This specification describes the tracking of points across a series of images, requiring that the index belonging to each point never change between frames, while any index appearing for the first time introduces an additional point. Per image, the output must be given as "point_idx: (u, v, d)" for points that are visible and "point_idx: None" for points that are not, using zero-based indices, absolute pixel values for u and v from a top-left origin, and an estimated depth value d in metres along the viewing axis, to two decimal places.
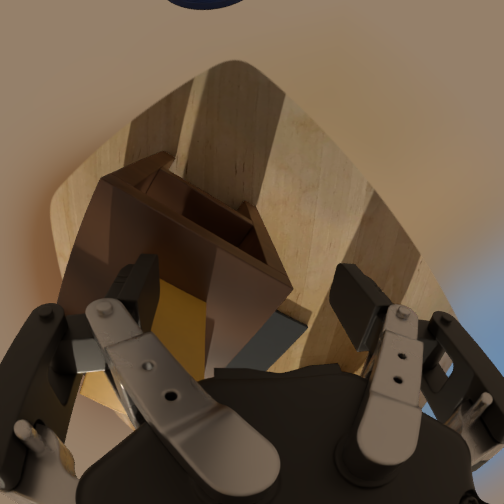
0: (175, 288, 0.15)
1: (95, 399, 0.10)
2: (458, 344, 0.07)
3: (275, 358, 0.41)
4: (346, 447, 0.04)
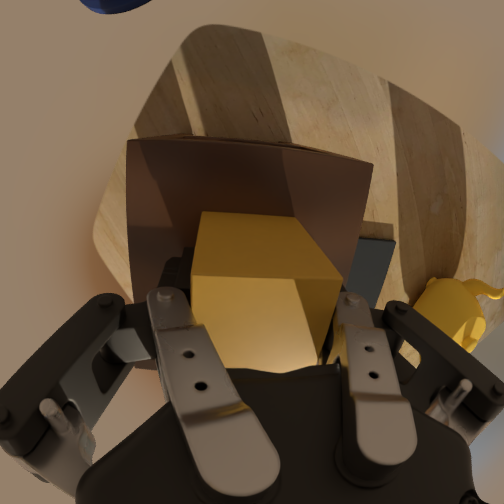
0: (256, 215, 0.13)
1: None
2: (421, 334, 0.07)
3: (378, 288, 0.37)
4: (346, 447, 0.04)
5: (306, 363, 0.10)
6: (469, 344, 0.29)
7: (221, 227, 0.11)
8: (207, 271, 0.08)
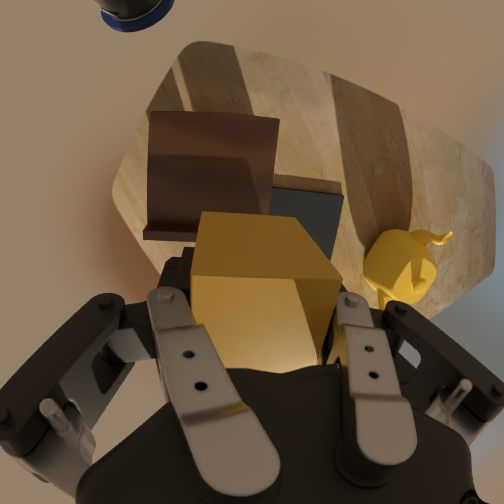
0: (256, 215, 0.13)
1: None
2: (421, 334, 0.07)
3: (333, 235, 0.48)
4: (346, 447, 0.04)
5: (306, 363, 0.10)
6: (417, 282, 0.40)
7: (221, 227, 0.11)
8: (207, 271, 0.08)
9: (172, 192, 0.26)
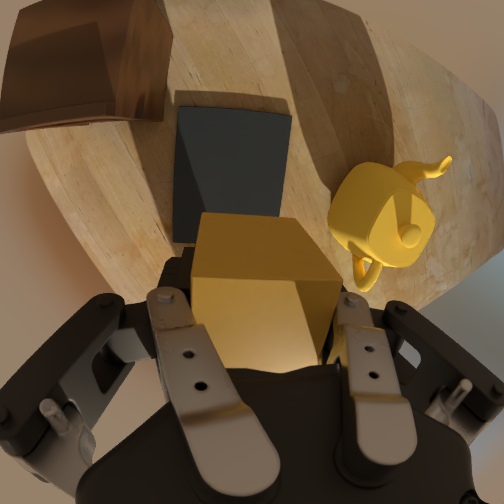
0: (256, 216, 0.13)
1: None
2: (421, 334, 0.07)
3: (281, 169, 0.35)
4: (346, 447, 0.04)
5: (306, 364, 0.10)
6: (407, 228, 0.27)
7: (221, 229, 0.11)
8: (207, 272, 0.08)
9: (20, 80, 0.13)
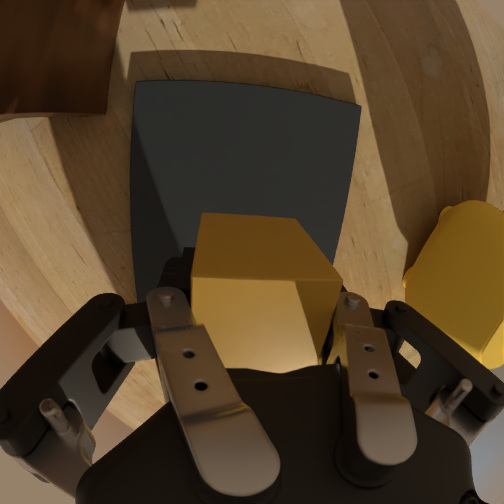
0: (256, 216, 0.13)
1: None
2: (422, 334, 0.07)
3: (337, 208, 0.18)
4: (346, 447, 0.04)
5: (306, 364, 0.10)
6: None
7: (221, 229, 0.11)
8: (207, 273, 0.08)
9: None
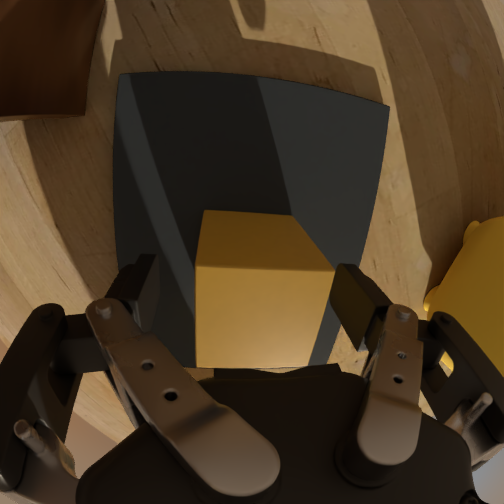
0: (255, 213, 0.14)
1: (217, 364, 0.10)
2: (458, 344, 0.07)
3: (360, 227, 0.15)
4: (346, 447, 0.04)
5: (302, 351, 0.10)
6: None
7: (222, 224, 0.12)
8: (210, 263, 0.09)
9: None
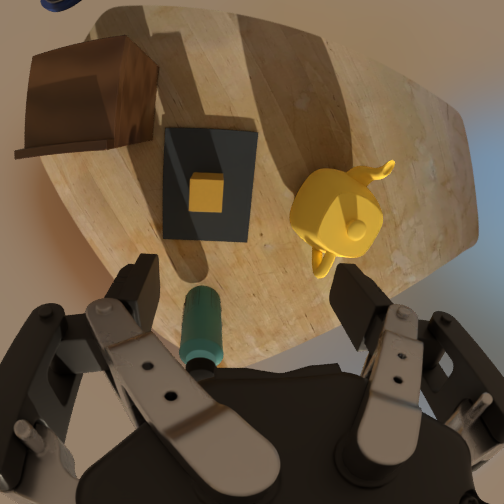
0: (210, 173, 0.41)
1: (194, 209, 0.38)
2: (458, 344, 0.07)
3: (249, 177, 0.43)
4: (346, 447, 0.04)
5: (218, 206, 0.38)
6: (351, 223, 0.35)
7: (198, 174, 0.39)
8: (193, 178, 0.36)
9: (40, 116, 0.20)
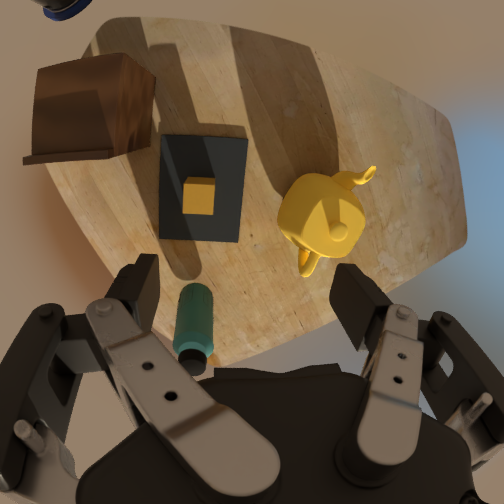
0: (203, 177, 0.44)
1: (188, 212, 0.41)
2: (458, 344, 0.07)
3: (240, 181, 0.46)
4: (346, 447, 0.04)
5: (210, 208, 0.41)
6: (333, 225, 0.38)
7: (192, 179, 0.42)
8: (187, 183, 0.39)
9: (46, 126, 0.23)
